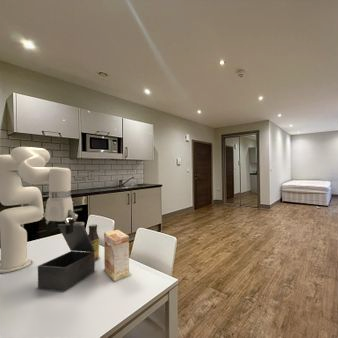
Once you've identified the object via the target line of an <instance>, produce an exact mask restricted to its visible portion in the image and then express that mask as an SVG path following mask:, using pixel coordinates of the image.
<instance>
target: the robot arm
mask: <svg viewBox="0 0 338 338" xmlns="http://www.w3.org/2000/svg"><path fill="white" fill-rule="evenodd" d="M50 160H51V153H50V151H49V150H47V149H46V148H43V147H34V146H33V147H32V146H18V147H14V148H12V150H11V151H10V154H0V204H1V205H2V206H9V207H8V208H5V209H3V210H1V211H0V274H7V273H11V272H15V271H18V270H22V269H24V268H26V267H29V265H31V264H32V260H31V259H30V258H28V232H27V230H26V229H25V228H24V227H22V225H26V224H30V223H34V222H35V223H36V222H39V221H40V220H44V222H45V224H46V233H47V234H49V233H52V232H55V231H56V222H64V224H67V225H66V226H65V234H69V233H72V232H73V224H74V223H75V222H77V219H78V216H79V215H78V214H77V213H75V212H74V205H73V199H72V170H71V169H70V168H68V167H58V166H46V164H47V163H48V162H49V161H50ZM14 171H17V172H18V174H17V173H15V172H14ZM22 180H23V181H24V182H26V183H27V184H30V185H44V184H48V198H47V199H46V205H45V211H44V204H43V196H42V192H41V190H40V188H38V187H36V186H23V184H22ZM27 204H28V205H27ZM18 205H24V206H18ZM10 206H16V207H11V208H10Z"/></svg>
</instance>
